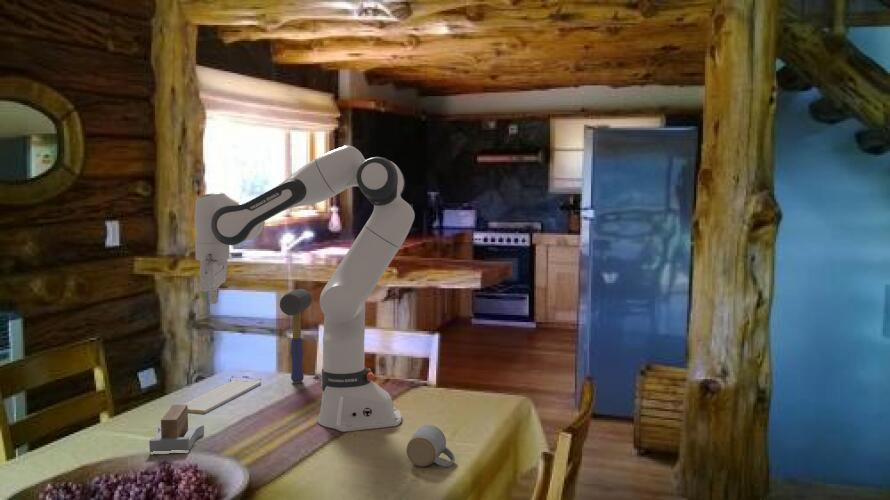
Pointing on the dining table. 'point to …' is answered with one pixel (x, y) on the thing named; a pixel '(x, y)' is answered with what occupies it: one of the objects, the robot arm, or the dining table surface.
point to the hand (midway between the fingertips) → (214, 303)
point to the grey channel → (176, 440)
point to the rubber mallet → (296, 327)
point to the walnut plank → (175, 422)
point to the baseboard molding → (220, 395)
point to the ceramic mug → (429, 447)
